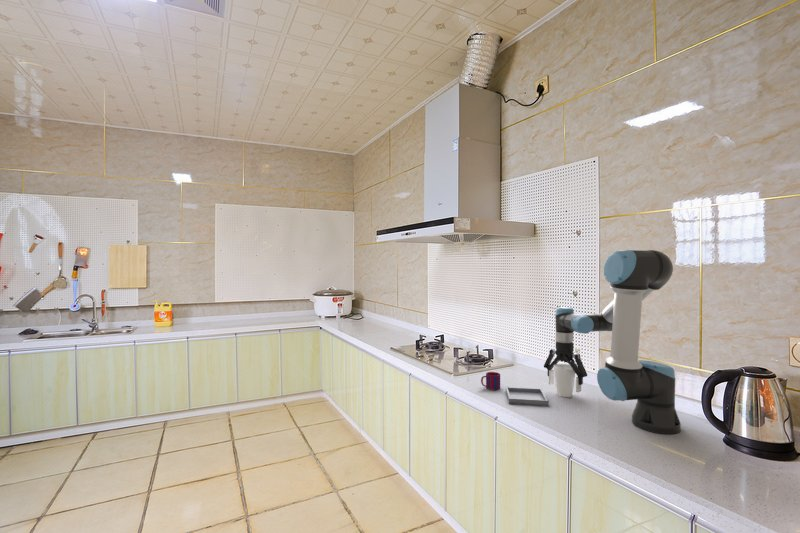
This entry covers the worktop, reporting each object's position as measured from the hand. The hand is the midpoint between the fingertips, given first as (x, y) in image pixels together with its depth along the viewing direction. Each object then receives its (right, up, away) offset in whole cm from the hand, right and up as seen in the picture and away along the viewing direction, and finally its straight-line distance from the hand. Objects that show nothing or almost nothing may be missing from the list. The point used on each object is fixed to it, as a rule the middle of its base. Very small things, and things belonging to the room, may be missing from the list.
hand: (564, 387), depth 178 cm
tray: (-19, -3, -5) cm, 20 cm away
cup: (-32, -4, +10) cm, 33 cm away
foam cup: (0, -3, 0) cm, 3 cm away
